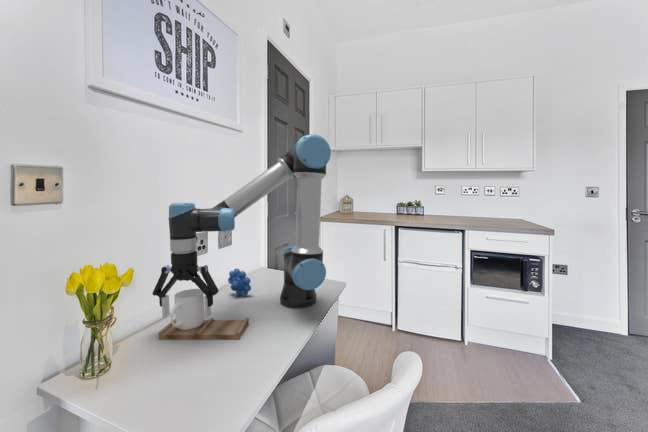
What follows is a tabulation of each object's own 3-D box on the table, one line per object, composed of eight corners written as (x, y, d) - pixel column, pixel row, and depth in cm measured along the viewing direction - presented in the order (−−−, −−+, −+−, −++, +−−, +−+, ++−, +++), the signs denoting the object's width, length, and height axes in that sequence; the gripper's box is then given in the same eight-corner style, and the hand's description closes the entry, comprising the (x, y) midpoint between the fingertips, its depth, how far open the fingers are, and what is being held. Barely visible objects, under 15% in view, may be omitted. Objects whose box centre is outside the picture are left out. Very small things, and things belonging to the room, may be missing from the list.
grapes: (222, 297, 120) (221, 270, 119) (232, 292, 126) (231, 266, 125) (245, 300, 116) (244, 272, 115) (254, 295, 122) (253, 268, 121)
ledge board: (248, 324, 95) (248, 317, 95) (239, 339, 85) (239, 332, 85) (176, 324, 95) (176, 317, 95) (158, 339, 85) (158, 332, 85)
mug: (160, 333, 86) (158, 300, 85) (189, 317, 97) (188, 287, 96) (183, 337, 83) (181, 303, 82) (210, 320, 95) (209, 289, 94)
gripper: (227, 248, 92) (229, 310, 93) (152, 249, 92) (156, 310, 94) (218, 253, 84) (221, 321, 86) (137, 254, 84) (141, 321, 86)
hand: (187, 315), depth 90 cm, fingers open, 13 cm apart
